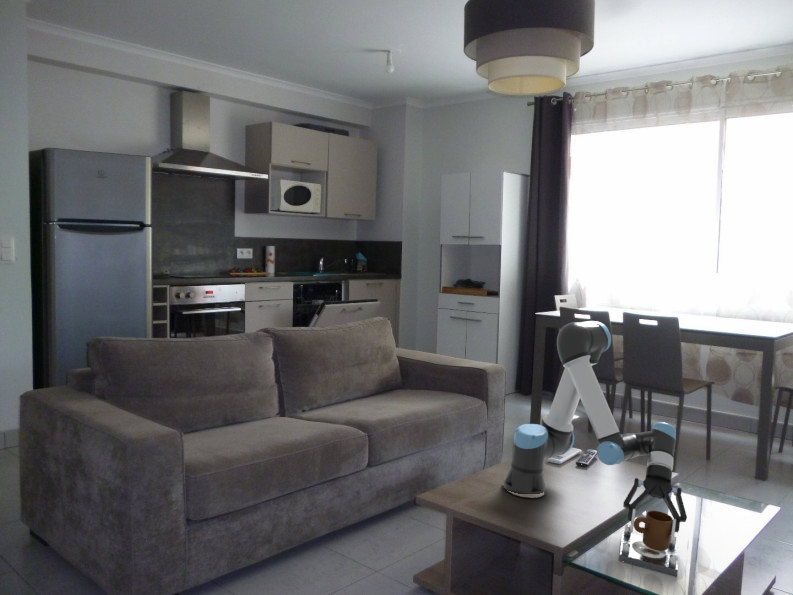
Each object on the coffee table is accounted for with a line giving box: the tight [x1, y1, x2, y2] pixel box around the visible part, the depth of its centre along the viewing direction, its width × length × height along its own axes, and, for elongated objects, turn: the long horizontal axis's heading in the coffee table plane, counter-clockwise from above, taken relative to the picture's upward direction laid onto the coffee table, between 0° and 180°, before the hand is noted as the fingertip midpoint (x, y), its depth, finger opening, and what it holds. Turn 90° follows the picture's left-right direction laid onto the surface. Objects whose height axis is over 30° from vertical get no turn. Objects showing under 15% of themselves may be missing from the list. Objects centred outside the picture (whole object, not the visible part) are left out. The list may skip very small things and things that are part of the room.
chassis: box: [618, 523, 679, 577], centre depth 199 cm, size 16×16×5 cm
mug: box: [633, 510, 674, 551], centre depth 198 cm, size 12×8×9 cm, turn 101°
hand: (651, 536), depth 195 cm, fingers closed on mug, 11 cm apart
